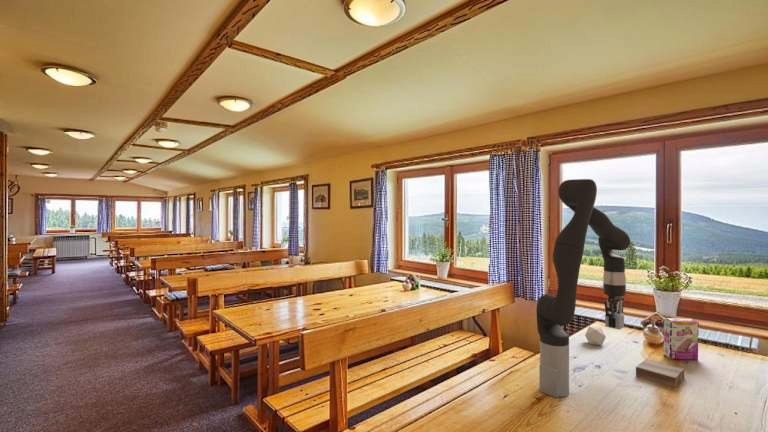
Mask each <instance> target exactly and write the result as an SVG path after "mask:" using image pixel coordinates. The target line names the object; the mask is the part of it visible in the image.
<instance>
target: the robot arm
mask: <svg viewBox="0 0 768 432" xmlns="http://www.w3.org/2000/svg"><path fill="white" fill-rule="evenodd" d="M597 193H598V187H597V183H596V181H594V180H593V179H592V178H591V179H589V178H583V179H581V178H579V179H577V178H575V179H567V180H564V181H562V182H561V183H560V185H559V187H558V197H559V199H560V201H561V202H562V203H563V204H564V205H565V206H566V207H568V208H569V209H570V210H571V211H572V212H574V214H573V216H572V217H571V219H570V220H569V222H568V223H567V224H566V225H565V226H564V227H563V229H562V230H561V231H560V232H559V234H558V235H557V237H556V238H555V241H554V247H553V251H552V262H553V266H554V270H555V272H556V276H557V283H558V284H557V291H556V295H554V294H550V293H545V294H543V295H541V296H540V297H539V298H538V301H537V304H536V309H535V310H536V325H537V326H536V327H537V332H538V335H539V392H540V393H542V394H546V395H548V396H550V397H553V398H556V399H558V398H565V397H568V396H569V395H570V337H569V335H568V333H567V332H566V331H565V330H564V329H563V328H562V327H565V326H568V325H570V323H571V322H572V321H573V319H574V316H575V312H576V305H577V304H576V302H577V291H578V290H577V289H578V288H577V287H578V280H579V276H580V269H581V264H582V260H583V254H584V250H585V243H586V239H587V238H586V237H587V232H588V227H590V228H591V230H592V231H593V232H594V233H595V235H596V236H597V237H598V246H599V249H600V251H601V256H602V259H603V276H602V279H603V281H602V282H603V283H602V285H603V286H602V289H603V294H604V295H606V296H608V297H607V299H606V301H604V310H605V311H604V312H605V314H606V316H608V317H609V327H612V328H611V329H614V328H615V327H616V322H615V318H616V313H620V314H624V306H625V305H624V304H625V296H626V295H627V289H626V288H627V283H626V282H627V279H626V278H627V277H626V267H625V266H626V261H625V258H624V257H622V256H620V255H617V254H615V253H614V251H626V250H627V249H629V247H630V246H631V238H630V235H629V234H628V233H627V232H626V231H625V230H623V229H622V228H620V227H619V226H617V224H614V223H613V221H612V220H611V218H610V217H609V216H608V215H607V214H606V213H605V212H604V211H602V210H600V209H599V208H597V207H595V204H596V200H597ZM610 312H611V314H610ZM609 327H608V328H609Z"/></svg>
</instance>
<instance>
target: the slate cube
mask: <svg viewBox="0 0 768 432" xmlns="http://www.w3.org/2000/svg"><path fill="white" fill-rule="evenodd" d="M610 314H611V312H610ZM604 316H605V317H604V320H605V321H604V327H606V328H609V329H614V330H621V329H624V328H625V314H624V313H622V314H620V313H616V318H615V322H616V327H615V328H612V327H609V317H608V316H606V313H605V314H604Z"/></svg>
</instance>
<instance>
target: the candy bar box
mask: <svg viewBox="0 0 768 432" xmlns="http://www.w3.org/2000/svg"><path fill="white" fill-rule="evenodd" d="M699 325H700V324H699V321H697V320H695V319H693V318H680V317H679V318H677V317H676V318H675V317H663V342H662V343H663V349H662V351H663V352H662V354H663V356H664V357H666V358H667V359H668V360H687V361H690V360H691V361H698V360H699V330H700V329H699Z"/></svg>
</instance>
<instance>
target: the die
mask: <svg viewBox="0 0 768 432" xmlns="http://www.w3.org/2000/svg"><path fill="white" fill-rule="evenodd" d="M584 336H585V338H586V341H587V342H588V344H589V345H592V346H593V345H594V346H601V347H602V346H603V345H604V342H605V339H606V338H607V337H606V334H605V332H604V331H603V328H602V327H599V326H588V327H587V330H586V332H585V335H584Z"/></svg>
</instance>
